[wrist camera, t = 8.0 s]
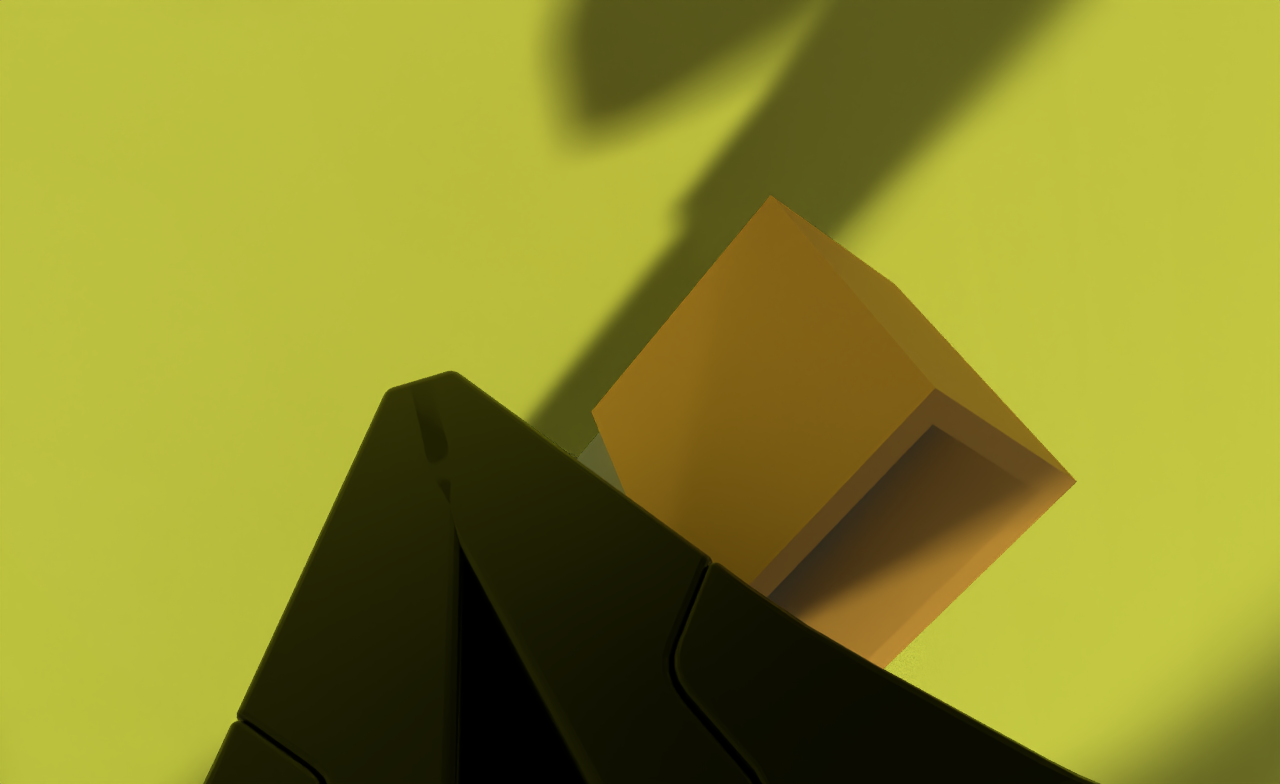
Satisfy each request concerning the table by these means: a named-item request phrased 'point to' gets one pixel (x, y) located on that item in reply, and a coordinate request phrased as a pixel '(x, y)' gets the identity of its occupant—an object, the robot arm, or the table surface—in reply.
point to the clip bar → (822, 440)
